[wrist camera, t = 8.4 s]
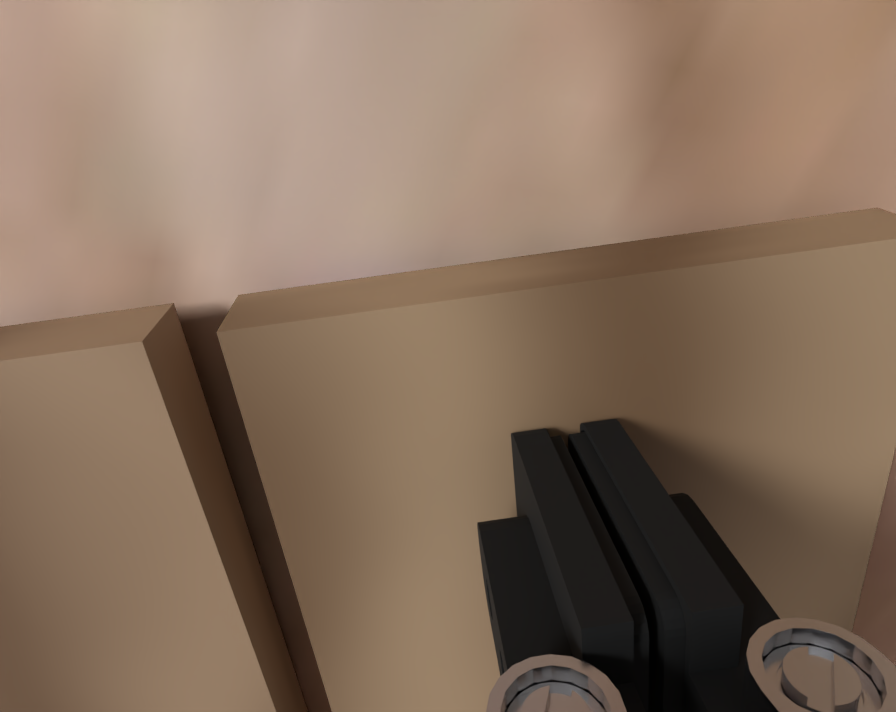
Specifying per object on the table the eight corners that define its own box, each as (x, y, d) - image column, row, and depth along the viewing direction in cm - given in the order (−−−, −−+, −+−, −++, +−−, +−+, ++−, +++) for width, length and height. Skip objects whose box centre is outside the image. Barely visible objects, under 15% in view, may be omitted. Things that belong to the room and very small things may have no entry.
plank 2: (370, 767, 15) (368, 833, 14) (238, 295, 10) (216, 331, 9) (785, 704, 15) (820, 763, 14) (877, 207, 10) (947, 231, 9)
